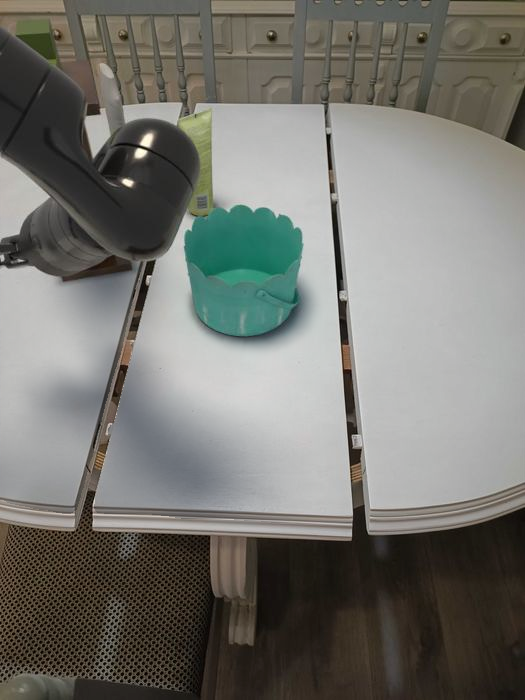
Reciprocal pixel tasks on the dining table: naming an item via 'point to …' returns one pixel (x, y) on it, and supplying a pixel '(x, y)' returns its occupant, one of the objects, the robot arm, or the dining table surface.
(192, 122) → the tube
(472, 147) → the dining table surface
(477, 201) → the dining table surface
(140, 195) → the robot arm
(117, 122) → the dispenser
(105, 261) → the brown wooden podium
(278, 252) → the bucket
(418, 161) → the dining table surface
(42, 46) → the green l-shaped block
